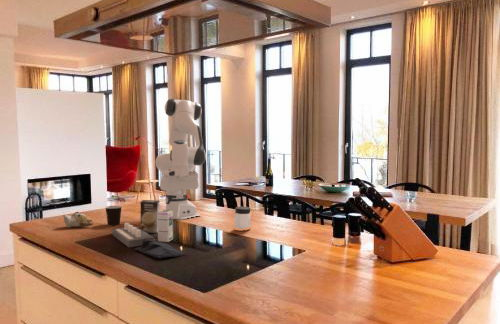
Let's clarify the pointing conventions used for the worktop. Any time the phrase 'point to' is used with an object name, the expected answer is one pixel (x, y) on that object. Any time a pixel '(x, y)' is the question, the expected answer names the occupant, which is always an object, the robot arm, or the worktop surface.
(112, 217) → the coffee mug
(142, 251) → the dark slate chunk
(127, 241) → the breaker panel
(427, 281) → the worktop surface
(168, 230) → the syrup box
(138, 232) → the breaker paddles
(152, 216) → the coffee box
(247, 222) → the jar
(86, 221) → the ceramic sculpture
